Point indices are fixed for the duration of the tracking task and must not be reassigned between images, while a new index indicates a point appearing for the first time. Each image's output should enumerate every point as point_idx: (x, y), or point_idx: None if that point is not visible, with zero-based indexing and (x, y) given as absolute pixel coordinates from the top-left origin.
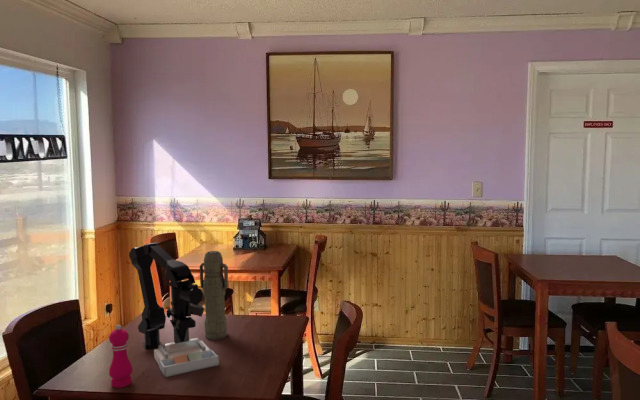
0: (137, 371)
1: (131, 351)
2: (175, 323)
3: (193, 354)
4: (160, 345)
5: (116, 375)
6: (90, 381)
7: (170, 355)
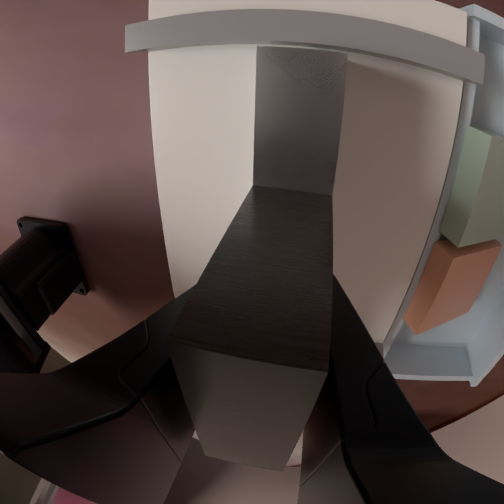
0: None
1: (99, 328)
2: (151, 494)
3: (485, 201)
4: None
5: None
6: (296, 446)
7: None
